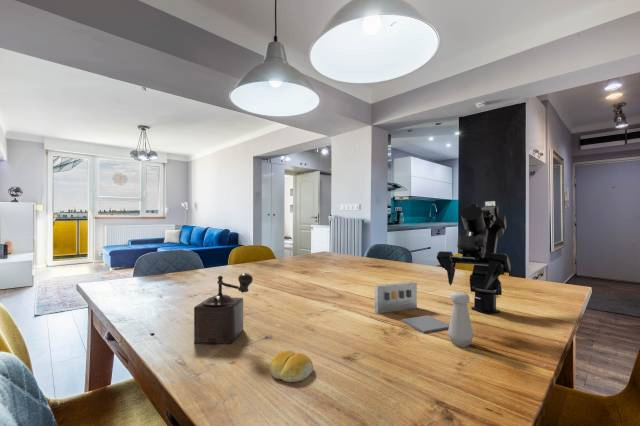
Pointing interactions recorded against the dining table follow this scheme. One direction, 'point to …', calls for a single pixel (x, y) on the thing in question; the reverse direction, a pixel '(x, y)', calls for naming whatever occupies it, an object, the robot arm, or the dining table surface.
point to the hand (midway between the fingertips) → (467, 286)
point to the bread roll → (291, 366)
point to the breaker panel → (395, 297)
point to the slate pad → (426, 324)
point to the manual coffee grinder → (221, 315)
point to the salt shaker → (460, 321)
